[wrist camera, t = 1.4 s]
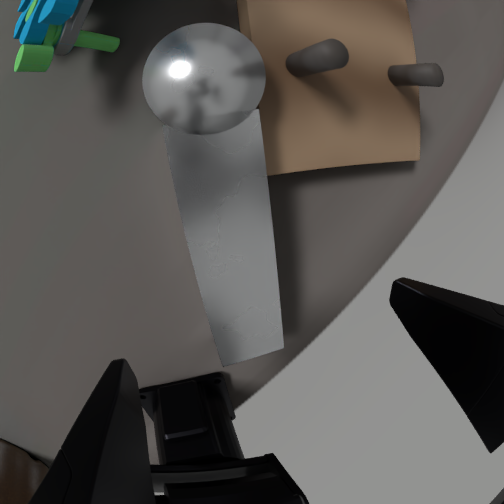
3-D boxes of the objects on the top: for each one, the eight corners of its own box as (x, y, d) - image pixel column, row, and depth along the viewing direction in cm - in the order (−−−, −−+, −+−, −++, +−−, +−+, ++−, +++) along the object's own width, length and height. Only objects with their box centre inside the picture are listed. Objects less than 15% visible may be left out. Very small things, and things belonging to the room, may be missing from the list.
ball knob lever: (272, 314, 18) (291, 345, 15) (205, 333, 17) (214, 369, 14) (237, 39, 10) (257, 19, 8) (141, 53, 10) (135, 34, 7)
